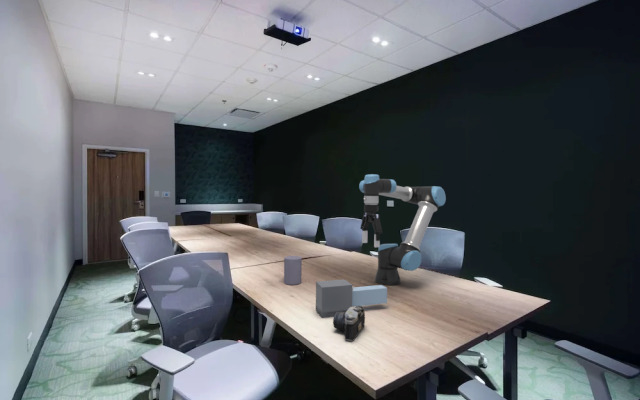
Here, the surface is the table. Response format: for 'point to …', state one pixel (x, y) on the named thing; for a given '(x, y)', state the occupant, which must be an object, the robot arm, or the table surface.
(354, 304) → the tall blue-grey block
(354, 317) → the camera
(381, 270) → the robot arm
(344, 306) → the dispenser
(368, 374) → the table surface
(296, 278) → the container
